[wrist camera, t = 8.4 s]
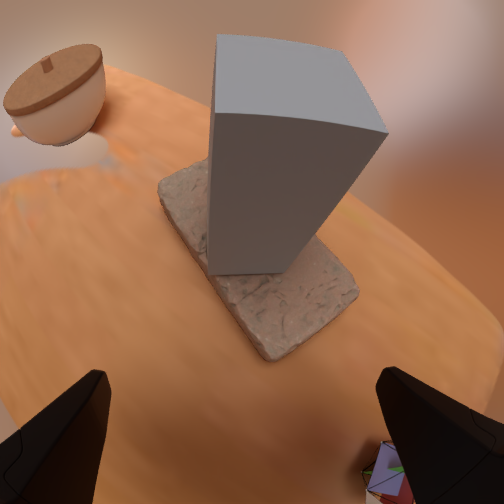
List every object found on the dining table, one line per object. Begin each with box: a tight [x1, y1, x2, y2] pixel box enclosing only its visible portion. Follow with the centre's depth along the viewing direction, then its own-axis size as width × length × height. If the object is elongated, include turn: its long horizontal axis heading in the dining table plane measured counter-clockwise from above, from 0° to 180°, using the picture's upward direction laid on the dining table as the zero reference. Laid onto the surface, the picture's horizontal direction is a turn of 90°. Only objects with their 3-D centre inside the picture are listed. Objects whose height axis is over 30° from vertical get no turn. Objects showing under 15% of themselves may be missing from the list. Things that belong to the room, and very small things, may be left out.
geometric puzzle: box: [361, 440, 414, 504], centre depth 15 cm, size 7×7×8 cm
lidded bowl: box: [3, 44, 106, 146], centre depth 23 cm, size 13×13×11 cm
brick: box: [157, 157, 360, 362], centre depth 22 cm, size 17×8×5 cm, turn 35°
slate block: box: [207, 34, 389, 275], centre depth 14 cm, size 5×5×13 cm
